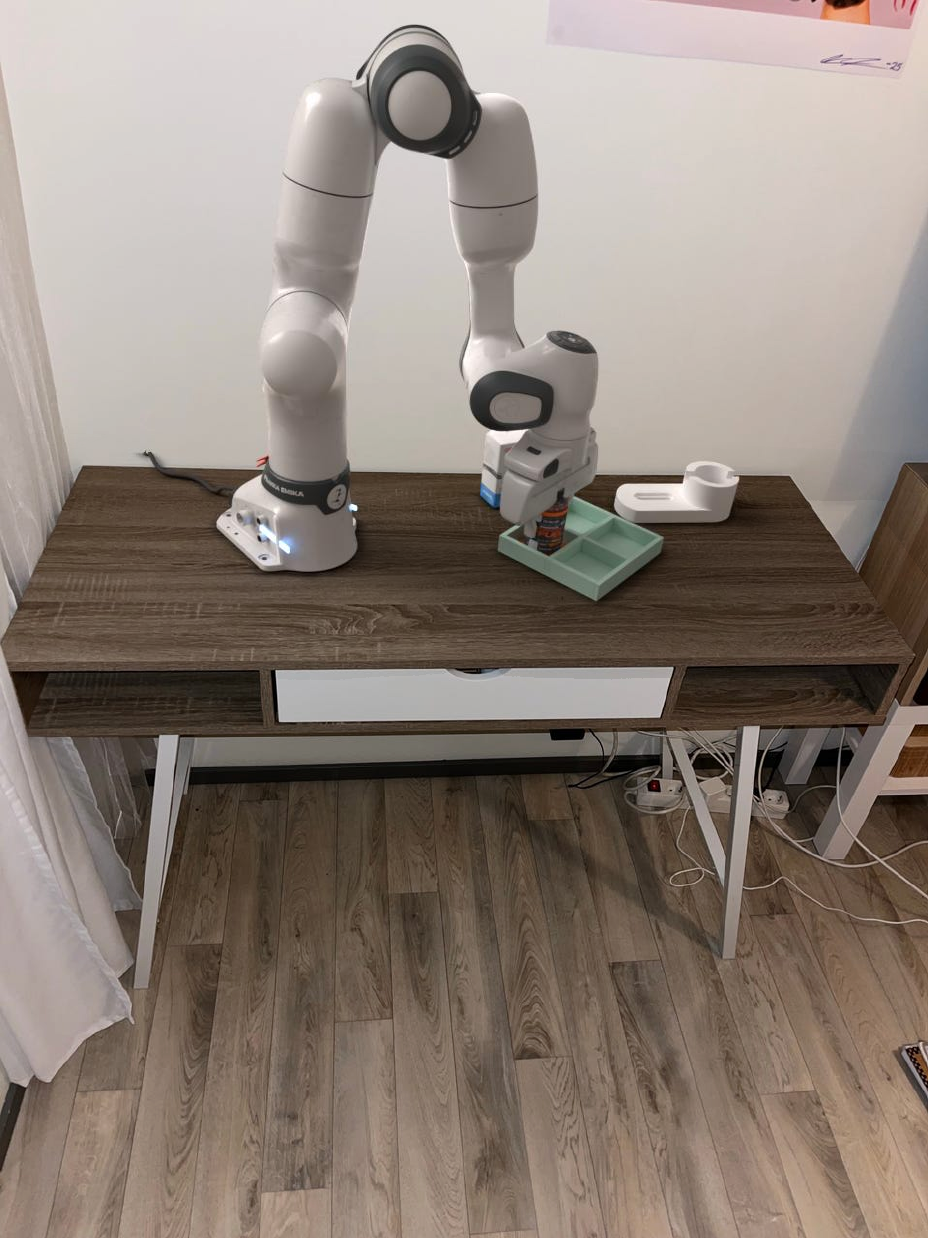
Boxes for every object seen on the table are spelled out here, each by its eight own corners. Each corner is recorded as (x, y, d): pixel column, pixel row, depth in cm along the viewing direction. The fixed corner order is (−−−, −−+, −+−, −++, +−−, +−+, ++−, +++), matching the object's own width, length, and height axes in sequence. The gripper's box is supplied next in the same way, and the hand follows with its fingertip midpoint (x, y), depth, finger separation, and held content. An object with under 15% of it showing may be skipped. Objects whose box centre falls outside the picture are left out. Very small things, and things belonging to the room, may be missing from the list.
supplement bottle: (535, 562, 153) (544, 497, 146) (515, 541, 157) (523, 478, 150) (568, 554, 155) (579, 490, 149) (548, 534, 160) (557, 471, 153)
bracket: (719, 495, 175) (728, 461, 171) (736, 521, 168) (746, 487, 164) (608, 495, 172) (614, 460, 168) (621, 523, 165) (629, 487, 161)
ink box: (493, 509, 166) (500, 444, 158) (478, 494, 169) (485, 430, 162) (537, 499, 169) (546, 436, 162) (522, 485, 173) (530, 423, 165)
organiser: (497, 550, 156) (499, 534, 154) (565, 508, 168) (567, 493, 166) (596, 601, 147) (599, 585, 145) (660, 552, 159) (664, 537, 157)
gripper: (579, 415, 154) (567, 494, 162) (496, 459, 140) (488, 543, 149) (614, 429, 151) (599, 509, 159) (533, 476, 138) (522, 560, 146)
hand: (545, 526), depth 154 cm, fingers closed on supplement bottle, 6 cm apart
